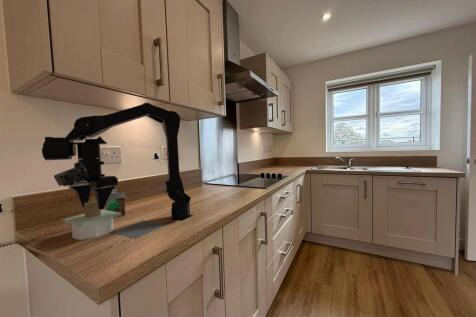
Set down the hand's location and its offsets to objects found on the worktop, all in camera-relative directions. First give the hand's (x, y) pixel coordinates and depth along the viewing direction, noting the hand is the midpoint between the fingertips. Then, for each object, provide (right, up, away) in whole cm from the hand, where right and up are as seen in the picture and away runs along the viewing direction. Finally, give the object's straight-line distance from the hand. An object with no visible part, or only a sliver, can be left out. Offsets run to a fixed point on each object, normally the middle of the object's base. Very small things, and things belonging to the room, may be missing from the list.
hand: (92, 208), depth 63 cm
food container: (-5, -8, +19) cm, 21 cm away
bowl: (0, -8, 0) cm, 8 cm away
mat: (+14, -8, +2) cm, 16 cm away
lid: (0, -3, 0) cm, 3 cm away
